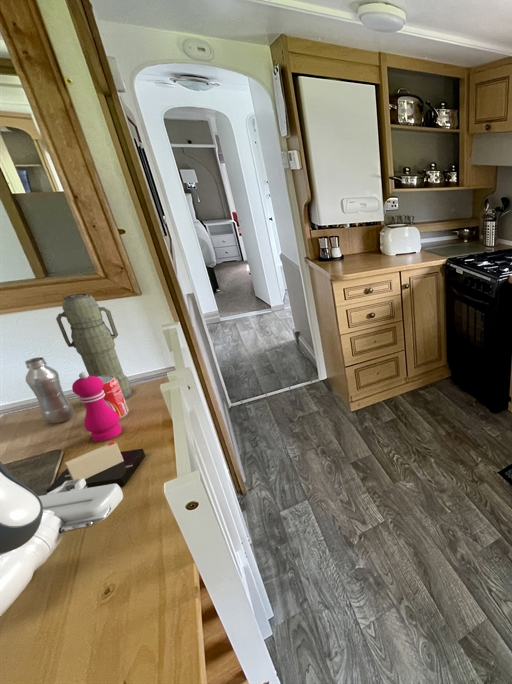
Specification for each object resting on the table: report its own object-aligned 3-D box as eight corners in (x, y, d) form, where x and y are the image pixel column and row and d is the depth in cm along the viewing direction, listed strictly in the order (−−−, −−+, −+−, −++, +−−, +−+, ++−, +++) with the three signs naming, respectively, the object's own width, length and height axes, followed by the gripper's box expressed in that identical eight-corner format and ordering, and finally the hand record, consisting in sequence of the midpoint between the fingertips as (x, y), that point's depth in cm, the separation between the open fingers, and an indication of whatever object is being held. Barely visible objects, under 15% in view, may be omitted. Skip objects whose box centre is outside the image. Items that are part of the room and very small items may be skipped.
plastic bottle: (40, 428, 109) (10, 367, 101) (53, 416, 114) (25, 357, 107) (70, 423, 111) (43, 363, 104) (80, 411, 117) (55, 353, 109)
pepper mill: (89, 434, 107) (62, 372, 99) (122, 424, 112) (99, 363, 104) (91, 446, 102) (64, 382, 95) (126, 434, 107) (102, 372, 100)
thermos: (141, 393, 127) (107, 294, 114) (95, 408, 118) (52, 303, 105) (132, 385, 132) (98, 289, 119) (87, 399, 123) (45, 297, 110)
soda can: (125, 408, 119) (112, 371, 114) (133, 416, 115) (119, 378, 111) (95, 418, 114) (80, 380, 109) (102, 427, 110) (86, 388, 105)
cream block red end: (75, 483, 86) (66, 464, 84) (73, 481, 87) (63, 461, 85) (123, 461, 94) (116, 442, 92) (121, 459, 94) (114, 440, 92)
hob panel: (42, 507, 83) (37, 498, 82) (79, 466, 95) (75, 457, 94) (122, 493, 87) (118, 484, 86) (148, 455, 99) (145, 447, 98)
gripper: (94, 511, 68) (132, 460, 80) (-58, 538, 62) (7, 479, 74) (106, 536, 70) (140, 483, 82) (-40, 565, 64) (20, 503, 77)
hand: (76, 481), depth 78 cm, fingers closed
